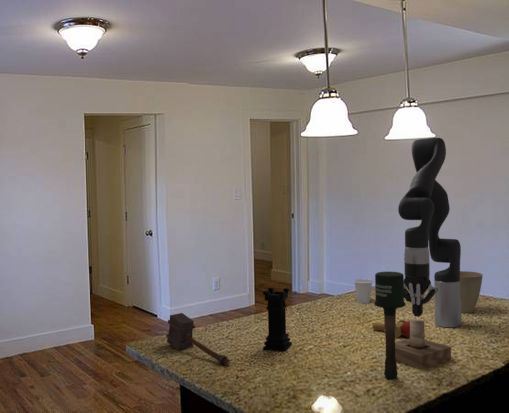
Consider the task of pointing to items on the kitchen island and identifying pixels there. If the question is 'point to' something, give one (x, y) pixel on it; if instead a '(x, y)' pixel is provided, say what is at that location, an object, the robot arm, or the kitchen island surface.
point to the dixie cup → (363, 290)
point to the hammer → (188, 336)
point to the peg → (417, 334)
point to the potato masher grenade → (389, 312)
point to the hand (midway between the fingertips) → (417, 315)
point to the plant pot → (469, 290)
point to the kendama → (396, 328)
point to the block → (422, 354)
